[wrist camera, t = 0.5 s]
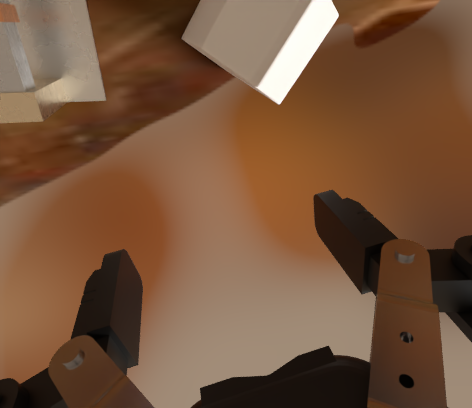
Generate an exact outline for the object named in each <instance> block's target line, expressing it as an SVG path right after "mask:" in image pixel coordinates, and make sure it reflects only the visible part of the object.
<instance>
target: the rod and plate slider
mask: <svg viewBox="0 0 472 408" xmlns="http://www.w3.org/2000/svg"><path fill="white" fill-rule="evenodd" d="M79 101H106V95H105V90H104V85H103V80H102V75H101V70H100V66H99V61H98V56H97V51H96V46H95V41H94V36H93V31H92V26H91V21H90V16H89V11H88V6H87V1H86V0H0V123H15V122H38V121H44V120H46V119H47V118H48V117H49V116H51V115H52V114H53V113H54V112H56V111H57V110H58V109H59V108H60V107H62V106H63V105H64V104H65V103H67V102H79Z"/></svg>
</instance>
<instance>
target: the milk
mask: <svg viewBox="0 0 472 408" xmlns="http://www.w3.org/2000/svg"><path fill="white" fill-rule="evenodd" d="M338 16H339V14H338V12H337V10H336V8H335V6H334V5H333V3H332V1H331V0H200V2H199V4H198V6H197V8H196V10H195V12H194V14H193V16H192V18H191V20H190V22H189V24H188V26H187V28H186V30H185V32H184V34H183V36H182V38H181V39H182V40H184V41H185V42H186V43H188V44H189V45H191V46H192V47H193V48H195V49H196V50H198V51H199V52H201V53H202V54H203V55H205V56H206V57H208V58H209V59H210V60H212V61H213V62H215V63H216V64H217V65H219V66H220V67H222V68H223V69H224V70H226V71H228V72H229V73H231V74H232V75H234V76H235V77H237V78H238V79H240V80H242V81H243V82H245V83H246V84H248V85H249V86H251V87H252V88H254V89H255V90H257V91H259V92H260V93H262V94H263V95H265V96H266V97H268V98H270V99H271V100H273V101H274V102H276V103H277V104H280V103H281V102H282V100H283V99H284V97H285V96H286V94H287V93H288V91H289V90H290V88H291V87H292V85H293V84H294V82H295V81H296V79H297V78H298V76H299V75H300V73H301V72H302V71H303V69H304V68H305V66H306V65H307V63H308V62H309V60H310V59H311V57H312V56H313V54H314V53H315V51H316V50H317V48H318V47H319V45H320V44H321V42H322V41H323V39H324V38H325V36H326V35H327V33H328V32H329V30H330V29H331V27H332V26H333V24H334V23H335V21H336V20H337V18H338Z"/></svg>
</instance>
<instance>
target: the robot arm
mask: <svg viewBox="0 0 472 408" xmlns="http://www.w3.org/2000/svg"><path fill="white" fill-rule="evenodd" d="M314 217H315V227H316V230H317V233H318V235H319V237H320V238H321V240H322V241H323V242H324V244H325V245H326V246H327V248H328V249H329V251H330V252H331V253H332V255H333V256H334V257H335V259H336V260H337V261H338V263H339V264H340V265H341V267H342V268H343V270H344V271H345V272H346V274H347V275H348V276H349V278H350V279H351V281H352V282H353V283H354V285H355V286H356V287H357V289H358V290H359V291H360V293H361V294H365V293H368V292H371V291H372V292H373V293H374V295H375V296H376V303H375V313H374V322H373V333H372V343H371V354H370V362H367V361H365V360H362V359H358V358H354V357H350V356H342V355H333V353H332V351H331V349H330V347H329V346H326V347H323V348H320V349H317V350H314V351H311V352H308V353H305V354H302V355H299V356H297V357H295V358H294V359H292V360H291V361H289V362H288V363H286V364H285V365H283V366H282V367H280V368H279V369H277V370H276V371H274V372H273V373H272V374H270V375H267V376H254V377H253V376H252V377H233V378H230V379H226V380H223V381H220V382H217V383H215V384H211V385H208V386H205V387H202V388H200V393H201V400H200V401H198V402H197V403H196V404H194V405H193V406H192V407H191V408H448V407H447V402H446V390H445V378H444V367H443V355H442V344H441V332H440V320H439V312H445V313H446V314H447V315H448V316H449V317H450V318H451V320H452V321H453V322H454V323H455V324H456V325H457V326H458V327H459V328H460V330H461V331H462V332H463V333H464V334H465V335H466V337H467V338H468V339H469V340H470V341H471V342H472V235H471V236H464V237H461V238H459V239H458V240H456V242H455V245H454V248H453V249H435V250H426V249H425V248H424V247H423V246H422V245H420V244H418V243H416V242H414V241H410V240H406V239H398V238H397V237H396V236H395V235H394V234H393V233H392V232H391V231H389V230H388V229H387V228H386V227H385V226H384V225H383V224H382V223H381V222H380V221H378V220H377V219H376V218H374V216H373V215H372V214H371V213H370V212H368V211H367V210H366V209H365V208H364V207H363V206H362V205H361V204H360V203H359V202H356V201H354V200H352V199H349V198H345V199H342V198H341V197H340V196H339V195H338V194H337V193H336V192H335V191H333V190H329V191H326V192H323V193H319V194H315V195H314ZM142 293H143V286H142V281H141V277H140V275H139V273H138V271H137V269H136V268H135V266H134V264H133V262H132V260H131V258H130V256H129V255H128V253H127V251H126V250H125V249H122V250H119V251H116V252H112V253H109V254H105V255H104V258H103V262H102V266H101V269H99V270H95V271H94V272H93V274H92V275H91V276H90V278H89V279H88V281H87V282H86V286H85V290H84V295H83V297H82V300H81V305H80V307H79V311H78V314H77V318H76V322H75V325H74V329H73V332H72V336H71V340H69V341H68V342H66V343H65V344H64V345H62V346H61V347H60V348H59V349H58V351H57V352H56V353H55V354H54V356H53V357H52V359H51V361H50V364H49V367H48V368H46V369H45V370H43V371H42V372H40V373H38V374H36V375H35V376H33V377H31V378H30V379H28V380H26V381H25V382H23V383H21V384H19V383H18V382H17V381H15V380H14V379H11V378H7V379H2V380H0V408H154V407H153V406H152V404H151V403H150V402H149V401H148V400H147V399H146V397H145V396H144V395H143V394H142V393H141V392H140V391H139V390H138V388H137V387H136V386H135V385H134V384H133V383H132V382H131V380H130V379H129V378H128V377H127V376H126V375H127V368H130V367H133V366H136V365H138V358H139V342H140V326H141V310H142Z"/></svg>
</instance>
